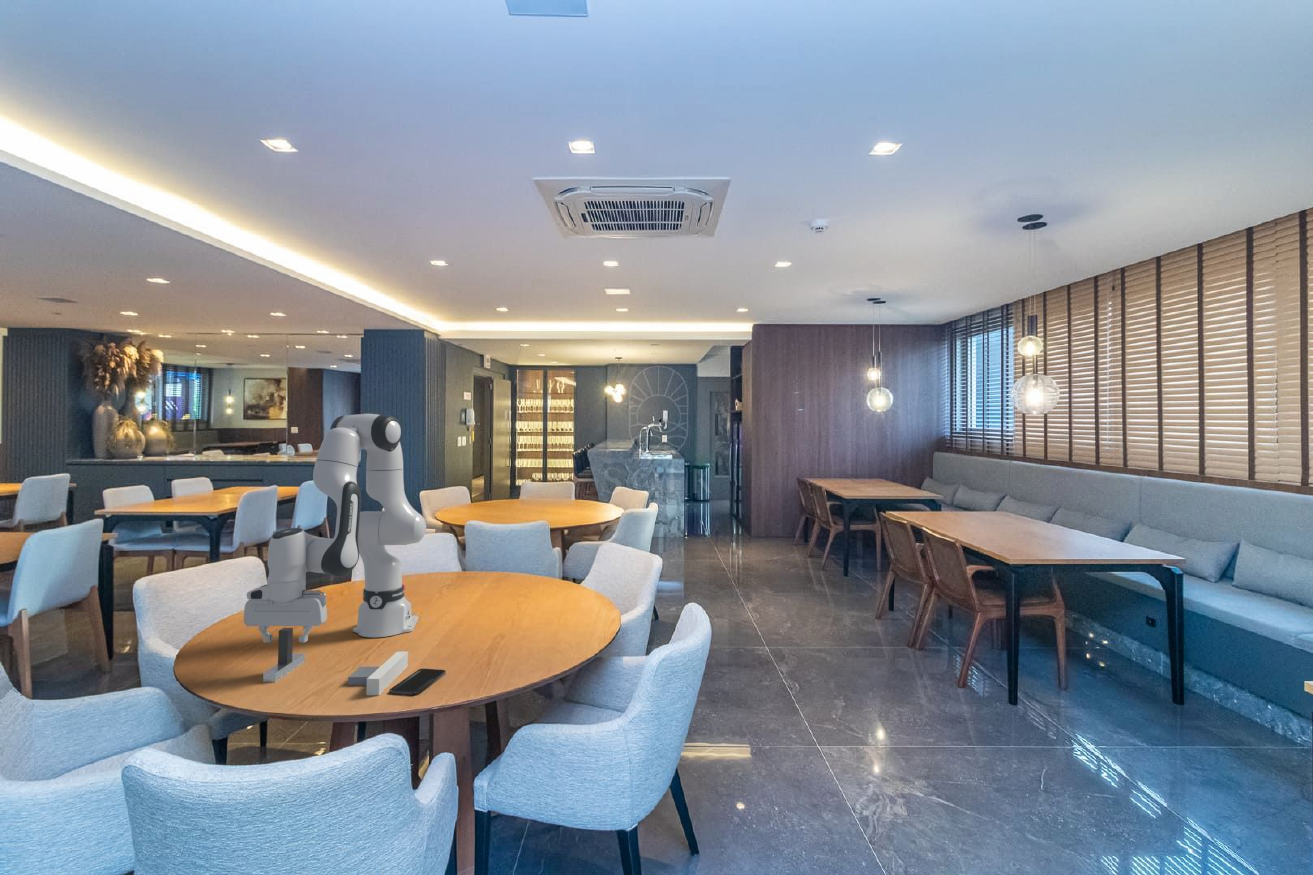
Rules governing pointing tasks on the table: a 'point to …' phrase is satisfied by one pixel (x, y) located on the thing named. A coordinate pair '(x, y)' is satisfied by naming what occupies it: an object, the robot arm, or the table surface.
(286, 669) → the upside-down t block
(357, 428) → the robot arm
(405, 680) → the phone
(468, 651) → the table surface
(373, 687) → the bar
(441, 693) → the table surface
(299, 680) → the table surface
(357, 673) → the slate tile
